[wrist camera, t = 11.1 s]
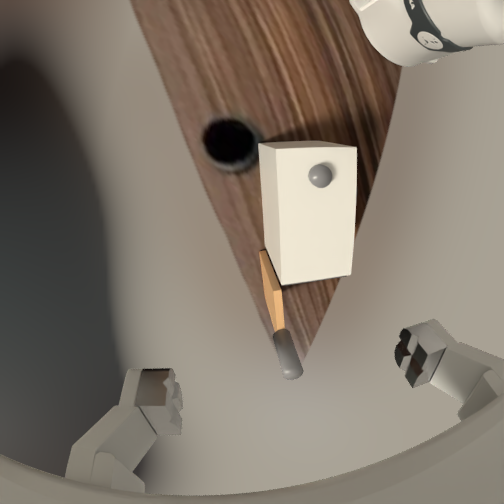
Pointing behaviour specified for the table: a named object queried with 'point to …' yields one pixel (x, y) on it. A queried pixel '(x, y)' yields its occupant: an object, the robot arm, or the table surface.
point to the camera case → (309, 208)
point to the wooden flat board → (279, 322)
